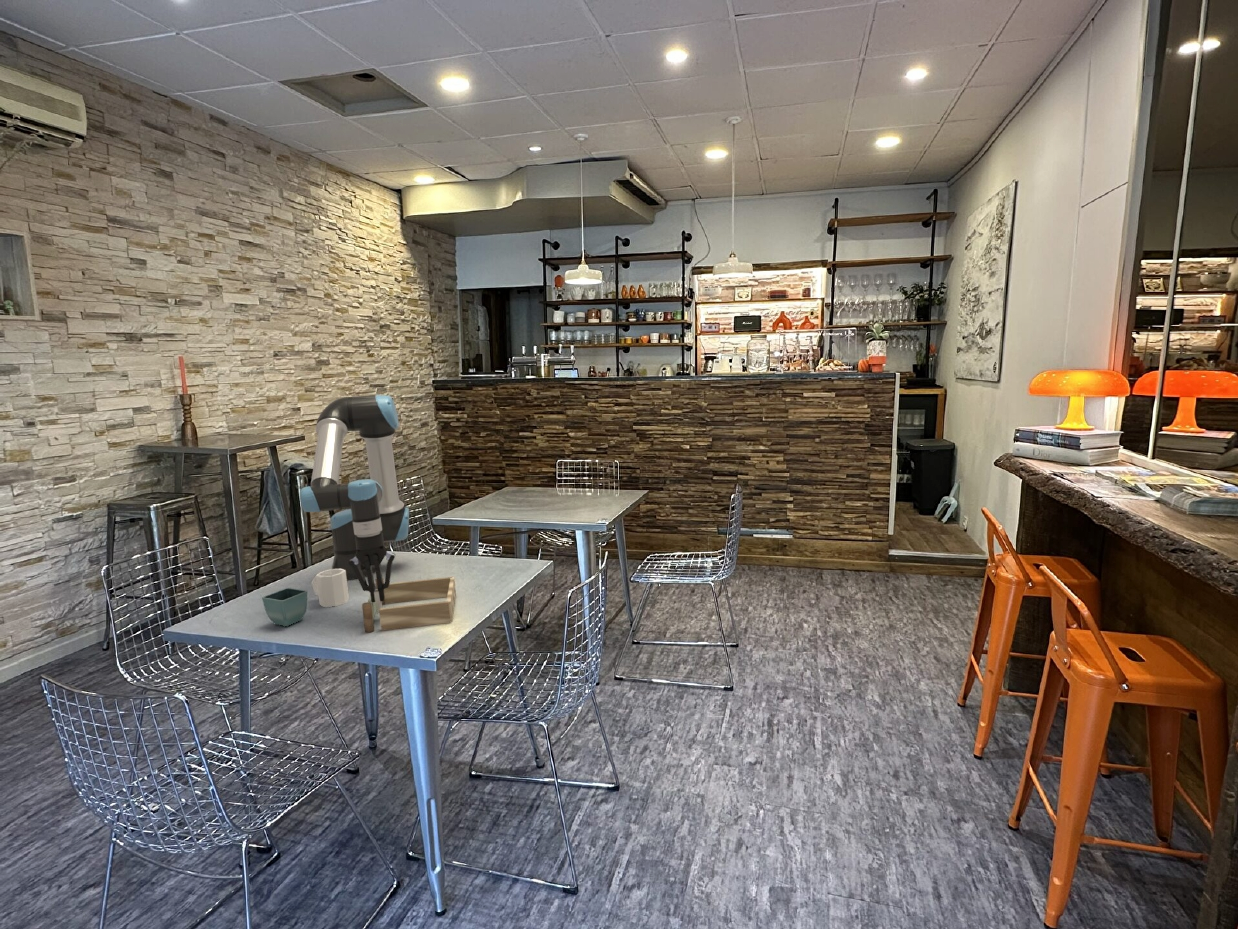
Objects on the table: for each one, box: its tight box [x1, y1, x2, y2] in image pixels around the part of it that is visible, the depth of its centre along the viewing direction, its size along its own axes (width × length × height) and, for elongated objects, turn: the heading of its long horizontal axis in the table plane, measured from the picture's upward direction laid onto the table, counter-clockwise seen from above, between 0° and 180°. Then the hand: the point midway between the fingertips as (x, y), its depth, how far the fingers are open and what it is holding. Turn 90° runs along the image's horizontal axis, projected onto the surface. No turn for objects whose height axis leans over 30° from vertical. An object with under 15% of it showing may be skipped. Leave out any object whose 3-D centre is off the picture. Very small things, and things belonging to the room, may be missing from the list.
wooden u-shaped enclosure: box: [361, 576, 457, 634], centre depth 193 cm, size 24×24×8 cm
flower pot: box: [261, 587, 308, 627], centre depth 189 cm, size 9×9×9 cm
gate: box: [367, 582, 377, 621], centre depth 191 cm, size 18×2×7 cm, turn 16°
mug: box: [310, 568, 350, 608], centre depth 205 cm, size 12×9×10 cm
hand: (379, 611), depth 189 cm, fingers closed
